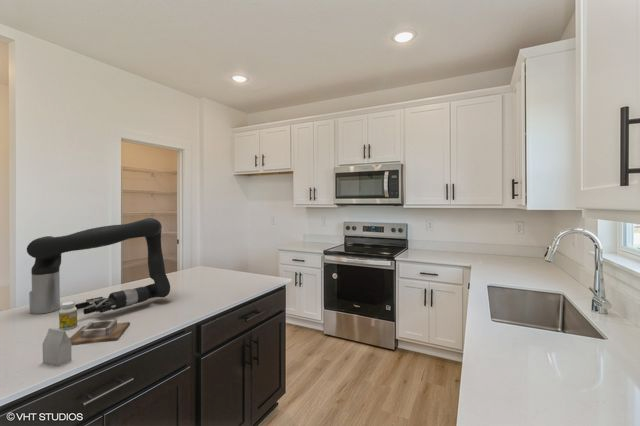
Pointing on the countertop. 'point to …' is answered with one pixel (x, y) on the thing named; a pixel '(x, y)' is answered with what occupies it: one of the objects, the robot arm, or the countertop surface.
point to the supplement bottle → (68, 316)
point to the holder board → (99, 332)
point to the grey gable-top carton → (56, 347)
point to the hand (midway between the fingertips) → (79, 309)
